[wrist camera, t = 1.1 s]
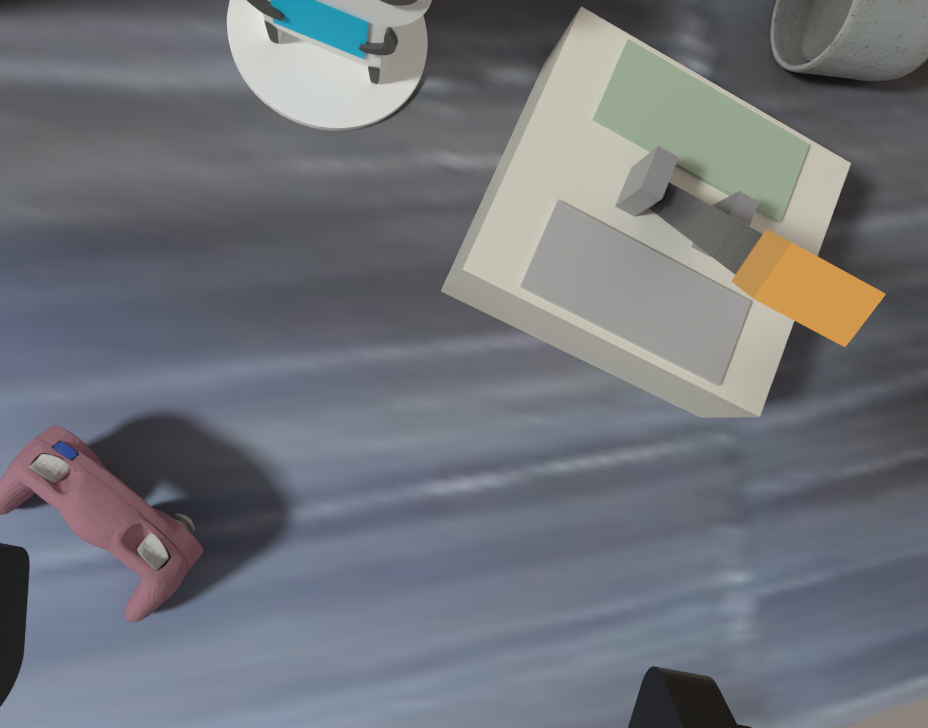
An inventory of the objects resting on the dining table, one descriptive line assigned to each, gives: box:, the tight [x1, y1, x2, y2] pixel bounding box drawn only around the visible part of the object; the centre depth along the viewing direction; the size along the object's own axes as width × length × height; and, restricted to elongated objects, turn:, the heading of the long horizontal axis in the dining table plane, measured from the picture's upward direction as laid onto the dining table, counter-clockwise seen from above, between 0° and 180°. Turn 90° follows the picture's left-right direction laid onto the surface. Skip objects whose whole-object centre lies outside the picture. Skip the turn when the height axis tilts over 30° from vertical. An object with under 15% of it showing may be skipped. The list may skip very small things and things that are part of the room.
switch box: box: [441, 7, 851, 418], centre depth 39 cm, size 16×18×9 cm
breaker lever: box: [649, 182, 886, 347], centre depth 30 cm, size 2×4×17 cm, turn 65°
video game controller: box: [0, 425, 203, 622], centre depth 34 cm, size 10×5×7 cm, turn 49°
